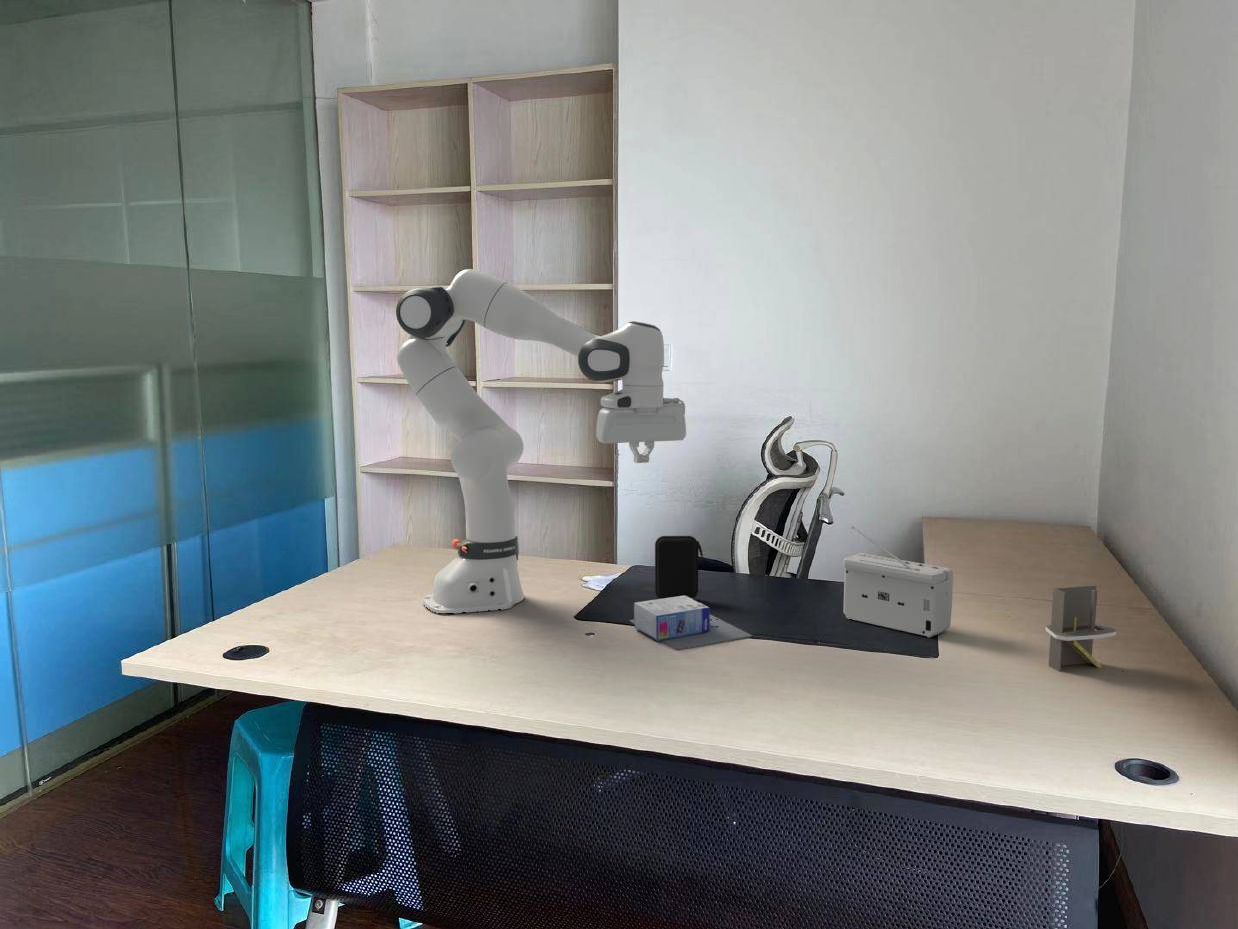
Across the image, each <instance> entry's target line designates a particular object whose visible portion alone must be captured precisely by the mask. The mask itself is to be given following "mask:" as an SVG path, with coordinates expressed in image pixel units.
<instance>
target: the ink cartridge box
mask: <svg viewBox="0 0 1238 929" xmlns="http://www.w3.org/2000/svg"><path fill="white" fill-rule="evenodd" d="M710 611H711V609H710V607H709V606H707V605H705V604H703V603H702V602H698V601H697V600H695V599H694V598H693V599H692V598H690V597H687V596H678V597H671V598H664V599H659V598H658V599H650V600H644V601H636V602H634V603H633V616H634V617H633V619H634V624H633V625H634V628H635V629H636V630H638V631H639V632H642V633H644V634H645V635H646V636H648V637H650V638H652V639H653V640H655V641H661V640H665V639H670V638H676V637H681V636H687V635H692V634H697V633H703V632H709V631H710V621H712V620H711V619H710V615H711V614H710V613H711V612H710Z"/></svg>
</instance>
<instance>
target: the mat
mask: <svg viewBox="0 0 1238 929" xmlns="http://www.w3.org/2000/svg"><path fill="white" fill-rule="evenodd" d="M710 619H712V621H710V626H719V627H718V628H716V627H713V628H710V631H709V632H703V633H697V634H692V635H687V636H681V637H676V638H670V639H665V640H660V641H661V642H663V643H665V644H666V645H667V646H670V647H671V648H673V649H674V650H676V651H681V650H687V649H691V648H698V647H702V646H703V647H704V646H708V645H714V644H720V643H725V642H731V641H737V640H741V639H742V640H744V639H748V638H752V637H753V635H752V634H750V633H748V632H746V631H745V630H742V629H740V628H738V627H736V626H734V625H732V624H731V623H728V622H727V621H724V620H722V619H720V618H719V617H716V616H715V615H712V614H710ZM716 619H718V620H716ZM628 621H630V623H631V624H633V625H634V618H633V619H629V620H628Z"/></svg>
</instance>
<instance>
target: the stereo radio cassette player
mask: <svg viewBox="0 0 1238 929" xmlns="http://www.w3.org/2000/svg"><path fill="white" fill-rule="evenodd" d="M851 529H852V530H853V529H854V530H855V531H857V532H858V533H859V534H860V535H862V536H863V537H864V538H866V539H867V540H868V541H869V542H872V544H874V545H875V546H876V547H878V548H879V549H881V550H882V551H883V552H885V553H886V554H888V555H889V556H890V557H886V556H879V555H875V554H873V555H872V554H869V553H862V552H859V553H857V554H852V555H850V556H847V557H844V558H843V567H844V575H843V576H844V579H843V582H844V583H843V584H844V585H843V608H842V609H843V611H842V612H843V614H844V615H845V618H846V619H848V620H849V619H852V620H853V621H856V622H857V621H858V622H862V623H865V624H866V623H867V624H871V625H875V626H880V627H884V628H888V629H892V630H897V631H900V632H901V631H903V632H906V633H909V634H910V633H911V634H916V635H920V636H924V637H927V638H928V639H929V638H932V637H935V636H937V635H939V634H942V633H943V632H945V631H946V630H947V629H949V628H950V627H951V623H952V622H951V620H952V609H953V587H954V586H953V585H954V571H953V569H951V568H950V567H943V566H938V565H931V564H927V563H920V562H915V561H909V560H902V559H900V558H898V557H897V556H896V555H895V554H893V553H891V551H889V550H887V548H885V547H883V546H881V545H880V544H879V543H877V541H874V540H873V539H871V538H870V537H868V535H866V534H864V533H863V532H862V531H860V530H858V529H857V528H855V526H854V525H852V526H851Z"/></svg>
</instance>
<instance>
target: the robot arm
mask: <svg viewBox="0 0 1238 929" xmlns="http://www.w3.org/2000/svg"><path fill="white" fill-rule="evenodd" d="M395 308H396V310H395V316H396V320H397V323H398V324H399V326H400V327H401V328H402V330H403V332H405V333H407V334H408V335H409V337H408V339H407V340H406V341H405V342H404V343H403V344H402V345H401V346H400V347H399V350H398V351H397V353H396V354H397V355H396V360H397V364H398V366H399V368H400V370H401V372H402V375H403V376H404V378H405V380H406V382H407V384H408V385H409V387H410V388H411V390H412V391H413V392H414V394H415V396H416V397H417V398H418V399H419V401H420V403H421V404H422V405H423V407H424V408H425V410H427V412H428V413H429V415H430V416H431V417H432V419H433V421H434V422H435V423H436V424H437V425H438V426H439V427H441V428H443V429H444V430H446V431H447V432H448V433H449V434H451V435H452V436H453V437H454V438H455V439H456V440H457V442H456V443H454V445H453V447H452V448H451V453H450V463H451V466H452V468H453V470H454V471H455V473H456V474H457V476H458V480H459V484H460V488H461V492H462V496H463V502H464V510H465V512H464V513H465V514H464V515H465V538H464V539H462V541H461V540H459V539H457V538H454V539H453V540H452V541H451V543H450V544H451V547H452V548H453V549H455V550H457V554H458V556H456V557H455V558H453V560H451V562H449V563H448V564H447V565H446V566H445V567H443V568H442V569H441V570H440V571H438V572H437V574H436V575H435V578H434V579H433V580H434V581H433V586H432V593H430V594H427V595H425V596H424V597H423V599H422V604H423V603H424V605H425V606H424V605H423V606H424V607H425V608H426V607H427V608H428V609H430V610H431V611H430V610H429V611H430V612H432V611H433V612H432V613H434V612H436V613H435V614H438V613H454V614H463V613H462V612H466V613H476V612H477V611H478V612H487V611H488V610H490V611H499V610H498V609H501V610H508V609H511V608H512V607H513V606H514V605H515V604H518V603H520V602H522V601H523V600H524V599H525V594H524V591H523V587H522V584H521V578H520V572H519V567H518V566H519V564H518V560H519V554H520V553H519V551H520V549H519V546H520V545H519V540H518V539H519V538H518V536H517V533H516V532H517V531H516V530H517V529H516V528H517V526H516V525H517V524H516V502H515V499H514V498H513V496H512V494H511V490H510V486H509V481H508V471H510V470H512V469H513V468H514V467H515V466H517V464H518V463H519V461H520V460H521V458H522V455H523V451H524V441H523V439H522V436H521V435H520V433H519V432H518V431H517V430H516V429H514V428H513V427H511V426H509V424H508V423H507V422H506V421H505V420H504V419H503V418H502V417H500V415H499V414H498V413H496V411H495V409H492V408H491V407H490V406H489V405H488V404H487V402H485V401H484V400H483V399H482V397H481V396H480V395H479V394H478V393H477V391H476V390H475V389H474V388H473V386H472V384H471V383H470V382H469V381H468V379H467V378H466V377H465V375H464V373H462V371H461V370H460V368H459V367H458V365H456V363H455V362H454V361H453V359H452V358H451V356H450V354H449V352H448V351H447V347H451V345H452V343H453V342H454V341H455V339H456V337H457V336H458V335H459V334H460V333H461V331H462V330H463V328H464V327H465V325H466V321H467V320H468V321H470V322H473V323H475V324H478V325H480V326H481V327H483V328H485V329H487V330H489V331H491V332H492V333H495V334H498V335H501V336H502V337H503V336H504V337H506V338H507V337H508V338H510V339H514V340H519V341H520V340H521V341H533V342H535V341H536V342H540V343H541V342H542V343H546V344H549V345H552V346H554V347H556V348H558V349H561V350H562V351H565V352H567V353H569V354H570V355H573V356H575V357H577V363H578V366H579V370H580V371H581V373H582V374H583V376H584V377H585V378H587V379H589V380H591V381H593V382H595V383H607V382H618V381H622V382H621V383H622V385H621V386H622V389H620V390H617V391H614V392H611V393H609V394H607V395H604V396H602V397H601V398H600V406H601V407H603V408H601V409H600V410H599V412H598V413H597V414H598V415H597V420H596V429H595V430H596V435H595V436H596V439H597V440H598V441H599V442H600V443H602V444H622V443H623V444H626V443H628V447H629V449H630V451H631V452H632V455H633V463H635V464H643V463H644V464H645V463H646V464H647V463H650V455H651V453H652V451H653V450H654V448H655V442H670V441H671V442H672V441H673V442H675V441H677V442H679V441H684V439H685V438H686V436H687V424H686V417H685V415H686V404H685V402H684V400H682V399H680V398H679V397H673V398H669V397H664V380H663V369H664V367H665V366H664V365H665V343H664V336H663V332H662V331H661V329H660V328H659V327H658V326H656V325H653V324H650V323H645V322H638V321H633V320H631V321H628V322H626V324H624V325H623V326H622V327H620V328H618V329H615V330H614V331H611V332H609V333H607V334H605V335H600V334H597V333H593V332H592V331H589V330H588V329H585V328H583V327H581V326H579V325H577V324H575V323H572V322H571V321H569V320H567V319H564V318H563V317H560V316H559V315H557V314H556V313H555V312H553V311H552V310H550V309H549V308H547V307H546V306H545V305H543V304H542V303H541V302H539V301H538V300H537V299H536V298H534V297H532V295H530V294H529V293H527V292H526V291H524V290H523V289H521V288H520V287H518V286H516V285H514V284H512V283H510V282H508V281H506V280H504V279H502V278H500V277H497V276H495V275H492V274H489V273H487V272H484V271H480V270H477V269H472V268H468V269H467V268H466V269H463V270H461V271H459V273H457V274H456V275H455V277H454V278H452V281H451V283H450V285H449V286H448V287H447V288H444V287H442V286H440V285H439V286H428V287H427V286H426V287H425V286H424V287H423V286H421V287H417V288H413V289H410V290H408V291H407V292H405V293H404V294H403V295H402V296H401V297H400V298H399V299H398V302H397V305H396V307H395ZM640 443H644V446H645V448H644V450H643V453H640V452H639V450H638V448H639V447H640ZM427 608H426V609H427ZM428 609H427V610H428Z"/></svg>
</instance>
